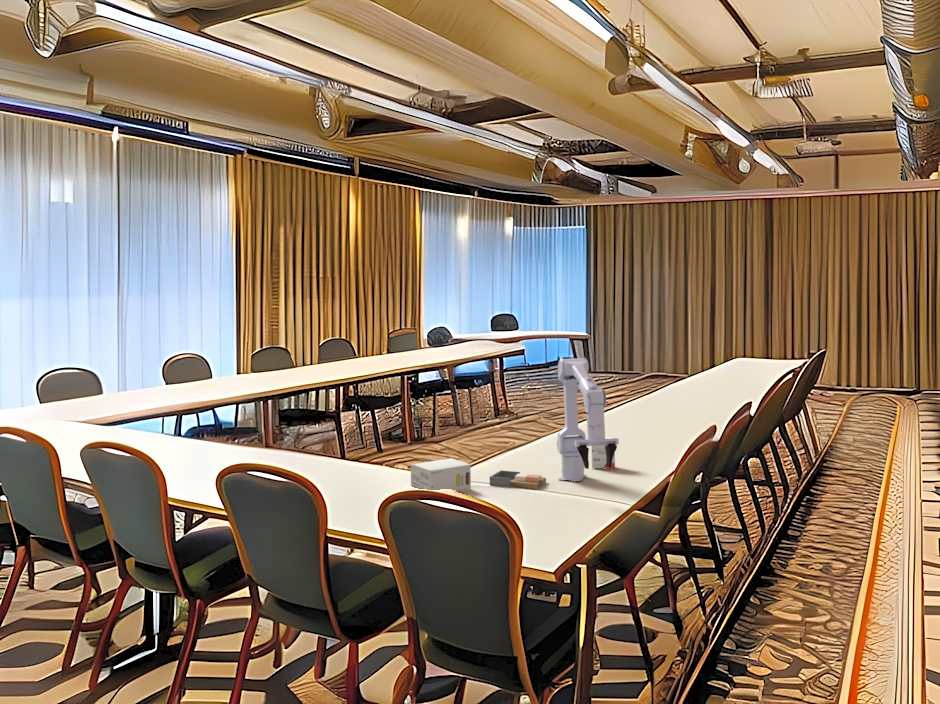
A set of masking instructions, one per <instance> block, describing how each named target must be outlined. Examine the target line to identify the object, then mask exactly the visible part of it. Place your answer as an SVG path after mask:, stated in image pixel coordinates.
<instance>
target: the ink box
mask: <svg viewBox="0 0 940 704" xmlns="http://www.w3.org/2000/svg"><path fill="white" fill-rule="evenodd" d="M613 438H615V437H614V436H605V439H613ZM592 444H602V443H601V442H597V443H592ZM605 446H606V445H595V446H591V469H592V468H606V469H605V470H611V469H614V470H615V468H616V454H615V453H616V452H615V453H614V456H613V459H612V464H611V467H607V463H606V450H605Z"/></svg>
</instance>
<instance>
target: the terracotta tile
mask: <svg viewBox="0 0 940 704" xmlns="http://www.w3.org/2000/svg"><path fill="white" fill-rule="evenodd" d="M541 477H542V475H540V474H529V476H528V477H527V482H539V481H541Z"/></svg>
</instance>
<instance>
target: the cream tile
mask: <svg viewBox="0 0 940 704" xmlns="http://www.w3.org/2000/svg"><path fill="white" fill-rule="evenodd" d="M529 475H530V474H529V473H520V474H517V475H516V476H515V481H527V477H528V476H529Z"/></svg>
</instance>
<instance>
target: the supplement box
mask: <svg viewBox="0 0 940 704" xmlns="http://www.w3.org/2000/svg"><path fill="white" fill-rule="evenodd" d="M471 478H472V476H471V463H468V462H464V461H461V460H458V459H455V458H452V457H450V458H445V459H438V460H430V461H424V462H418V463H411V464H410V487H411V486H412V487H414V488H418V489H427V490H440V489H452V490H456V491H461V492H465V490H466V491H471V490H472V486H471V484H472V482H471V481H472V479H471Z"/></svg>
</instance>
